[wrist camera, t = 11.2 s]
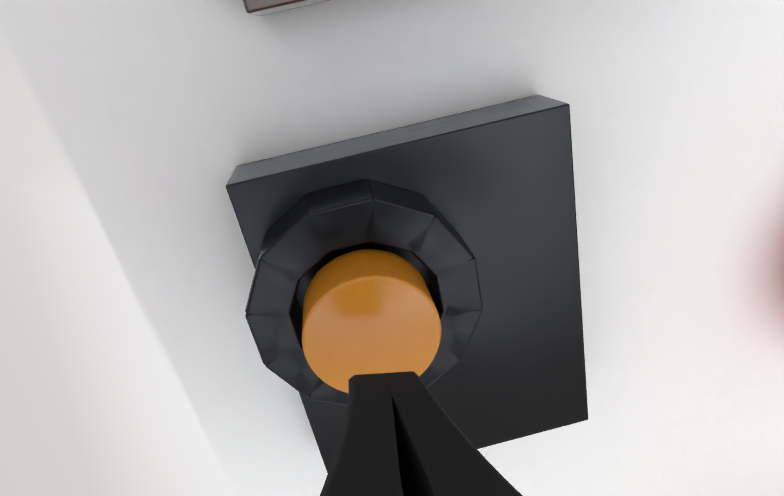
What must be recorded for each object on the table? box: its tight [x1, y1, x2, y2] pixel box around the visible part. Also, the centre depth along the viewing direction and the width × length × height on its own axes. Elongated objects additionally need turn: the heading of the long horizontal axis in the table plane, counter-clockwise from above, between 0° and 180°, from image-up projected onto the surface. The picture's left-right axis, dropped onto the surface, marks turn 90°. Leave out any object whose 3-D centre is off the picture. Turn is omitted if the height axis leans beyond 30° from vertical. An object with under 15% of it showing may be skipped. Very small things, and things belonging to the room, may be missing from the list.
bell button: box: [302, 249, 441, 393], centre depth 14 cm, size 4×4×2 cm
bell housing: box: [226, 95, 588, 473], centre depth 17 cm, size 10×12×4 cm
